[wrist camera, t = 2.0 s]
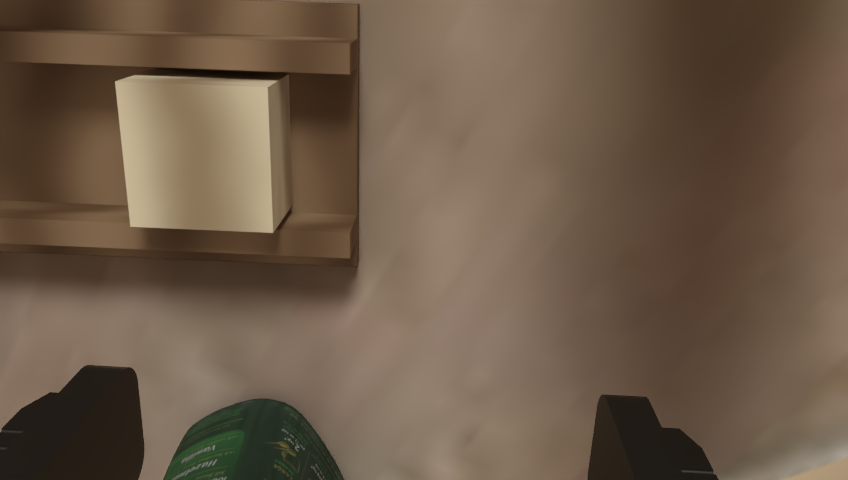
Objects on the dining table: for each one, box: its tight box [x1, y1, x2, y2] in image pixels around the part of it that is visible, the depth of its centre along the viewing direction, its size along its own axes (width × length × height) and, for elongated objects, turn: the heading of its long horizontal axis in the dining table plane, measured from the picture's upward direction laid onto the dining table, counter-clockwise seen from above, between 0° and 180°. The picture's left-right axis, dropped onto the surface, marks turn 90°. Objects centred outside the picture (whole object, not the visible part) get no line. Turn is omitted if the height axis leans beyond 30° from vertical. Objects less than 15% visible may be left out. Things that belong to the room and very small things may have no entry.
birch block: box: [115, 69, 293, 233], centre depth 32 cm, size 6×6×4 cm
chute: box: [0, 0, 359, 267], centre depth 33 cm, size 28×12×3 cm, turn 88°
